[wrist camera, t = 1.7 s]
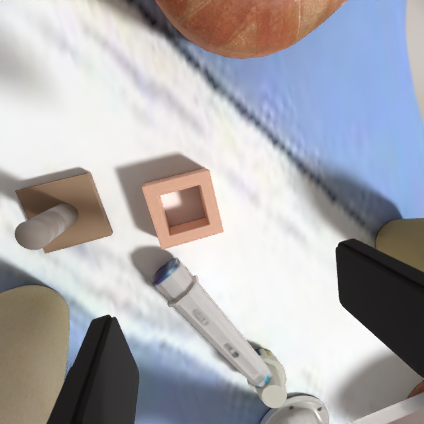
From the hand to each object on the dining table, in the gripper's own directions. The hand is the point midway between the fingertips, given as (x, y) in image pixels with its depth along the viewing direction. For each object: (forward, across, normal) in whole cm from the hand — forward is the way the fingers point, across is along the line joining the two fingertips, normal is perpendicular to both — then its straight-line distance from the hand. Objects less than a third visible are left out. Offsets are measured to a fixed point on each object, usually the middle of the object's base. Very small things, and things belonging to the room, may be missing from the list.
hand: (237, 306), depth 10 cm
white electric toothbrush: (+20, 0, +18) cm, 27 cm away
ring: (+19, +1, 0) cm, 19 cm away
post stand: (+19, +13, -2) cm, 23 cm away
